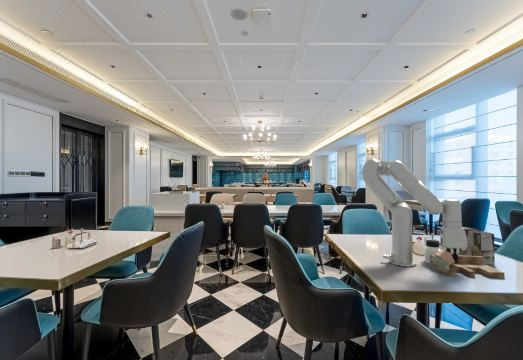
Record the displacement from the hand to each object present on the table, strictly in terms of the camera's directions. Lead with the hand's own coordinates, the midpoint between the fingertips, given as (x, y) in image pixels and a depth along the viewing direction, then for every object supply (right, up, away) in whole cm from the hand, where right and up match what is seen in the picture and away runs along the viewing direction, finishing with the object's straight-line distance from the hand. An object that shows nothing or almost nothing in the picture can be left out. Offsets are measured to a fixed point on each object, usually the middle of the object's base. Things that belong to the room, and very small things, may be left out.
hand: (453, 261), depth 125 cm
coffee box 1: (+28, -5, +26) cm, 39 cm away
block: (-4, 0, 0) cm, 4 cm away
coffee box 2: (+25, -4, +13) cm, 28 cm away
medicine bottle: (-2, -5, +12) cm, 13 cm away
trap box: (+3, -4, -3) cm, 6 cm away
